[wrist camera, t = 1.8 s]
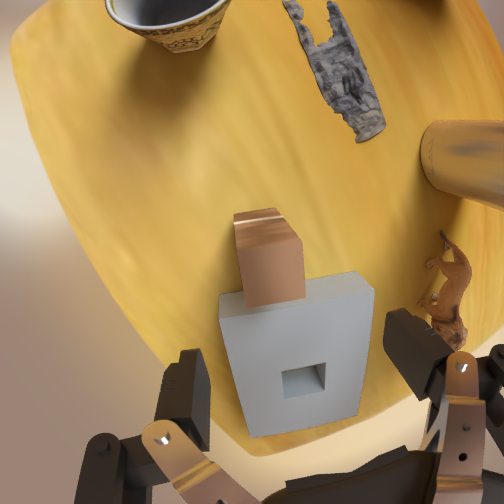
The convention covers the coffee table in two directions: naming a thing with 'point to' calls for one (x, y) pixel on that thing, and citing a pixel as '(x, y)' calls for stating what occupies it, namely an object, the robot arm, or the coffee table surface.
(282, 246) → the walnut peg
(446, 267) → the lion figurine
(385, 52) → the coffee table surface
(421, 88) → the coffee table surface
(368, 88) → the driftwood
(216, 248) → the coffee table surface
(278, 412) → the grey rectangular block
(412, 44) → the coffee table surface
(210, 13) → the ceramic cup
